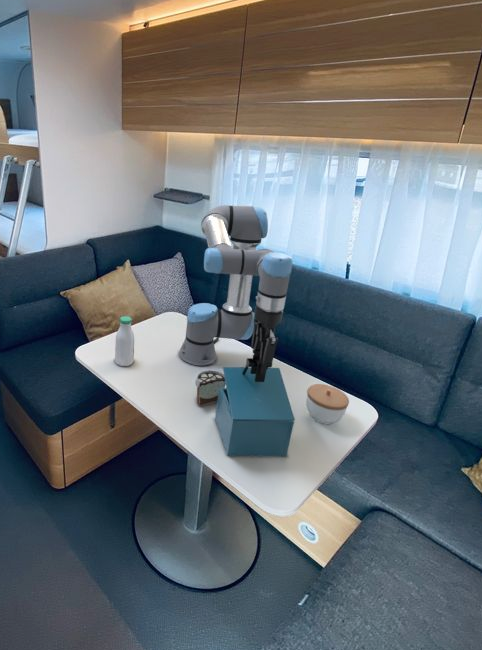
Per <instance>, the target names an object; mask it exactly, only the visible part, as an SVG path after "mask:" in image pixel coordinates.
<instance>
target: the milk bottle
mask: <svg viewBox="0 0 482 650" xmlns="http://www.w3.org/2000/svg"><path fill="white" fill-rule="evenodd" d="M134 333H135V332H134V331H133V328H132V318H131V316H127V315H125V316H121V317H119V328H118V330H117V332H116V334H115V342H114V343H115V345H114V351H115V352H114V361H115V364H116V365H118V366H121V367H128V366H131V365H133V363H134V359H135V334H134Z"/></svg>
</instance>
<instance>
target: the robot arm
mask: <svg viewBox="0 0 482 650" xmlns="http://www.w3.org/2000/svg"><path fill="white" fill-rule="evenodd" d="M268 219H269V218H268V215H267V211H266V209H265V208H263V207H261V206H253V205H252V206H250V205H225V204H224V205H219V206H216V207H213V208H212V209H210V210H209V211H207V212H206V213H205V214H204V215H203V217H202V219H201V222H200V227H201V231H202V233H203V235H204V236H205V238H206V243H207V248H206V249H205V251H204V256H203V269H204V272H206V273H212V274H217V275H218V274H219V275H221V274H223V275H229V279H228V289H227V298H226V302H225V303H223V304H222V307H221V309H219V308H218V307H217V305H215V304H211V303H208V302H202V303H195V304H193V305H192V306H190V307H189V308H188V310H187V311H188V312H187V316H186V327H185V328H186V329H185V338H184V341H183V342H182V345H181V346H180V350H179V358H180V359H181V360H182V361H183V362H185V363H187V364H188V365H189V364H190V365H192V366H198V367H205V366H209V365H212V364H214V363H215V362H216V359H217V352H216V348H215V344H214V343H216V342H217V341H218V340H219V339H230V340H237V341H239V340H243V341H244V340H249V339H250V338H251V345H250V348H251V350H252V354H253V355H252V358H260V360H259V361H257V367H251V371H250V373H251V374H256V375H255V382H264V381H265V375H266V370H267V366H272V367H273V361H274V357H275V353H276V349H277V344H278V343H279V338H278V337H276V336H275V334H276V326H277V325H279V324H281V323H282V319H283V314H284V309H285V306H286V300H287V294H288V287H289V282H290V278H291V274H292V270H293V268H292V267H293V259H292V257H291V256H290V255H288V254H286V253H282V252H276V251H274V250H272V249H271V248H269V247H259V248H257V247H258V246H259V245H261V243H262V239H265V238H267V236H268V232H269V220H268ZM253 276H255V277H259V283H258V290H257V295H256V296H255V301H256V302H255V304H256V305H255V307H254V312H253V308H252V307H251V306H250V297H251V291H252V283H253Z"/></svg>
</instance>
